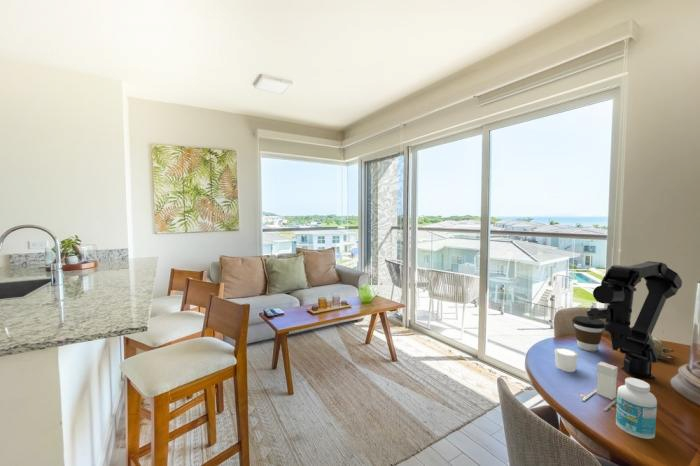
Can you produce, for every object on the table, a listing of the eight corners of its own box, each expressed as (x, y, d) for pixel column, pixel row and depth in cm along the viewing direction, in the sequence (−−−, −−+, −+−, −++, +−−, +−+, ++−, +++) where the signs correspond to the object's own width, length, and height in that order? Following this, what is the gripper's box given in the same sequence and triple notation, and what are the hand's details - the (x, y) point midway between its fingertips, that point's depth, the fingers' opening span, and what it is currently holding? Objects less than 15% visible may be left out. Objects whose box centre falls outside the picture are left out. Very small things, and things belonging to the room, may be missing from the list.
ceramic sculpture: (625, 324, 129) (676, 336, 118) (622, 343, 130) (673, 357, 119) (622, 331, 122) (676, 344, 111) (619, 351, 123) (673, 367, 112)
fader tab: (600, 390, 95) (601, 361, 94) (616, 397, 91) (617, 367, 91) (596, 393, 93) (597, 363, 93) (612, 400, 90) (613, 369, 89)
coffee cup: (606, 356, 119) (608, 326, 118) (572, 350, 125) (573, 321, 124) (601, 345, 128) (603, 318, 127) (570, 340, 134) (571, 314, 133)
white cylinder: (581, 376, 105) (582, 357, 104) (559, 374, 106) (560, 355, 106) (571, 366, 112) (571, 348, 111) (550, 365, 113) (551, 346, 113)
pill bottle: (608, 422, 82) (610, 374, 81) (634, 422, 82) (637, 374, 81) (634, 443, 75) (637, 391, 74) (663, 442, 75) (666, 390, 74)
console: (595, 386, 99) (595, 382, 99) (631, 401, 91) (631, 396, 91) (575, 401, 91) (575, 396, 91) (612, 418, 84) (613, 413, 84)
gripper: (591, 295, 112) (586, 336, 113) (587, 300, 98) (582, 348, 99) (631, 302, 105) (626, 346, 105) (634, 309, 91) (628, 360, 91)
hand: (614, 349), depth 100 cm, fingers closed
